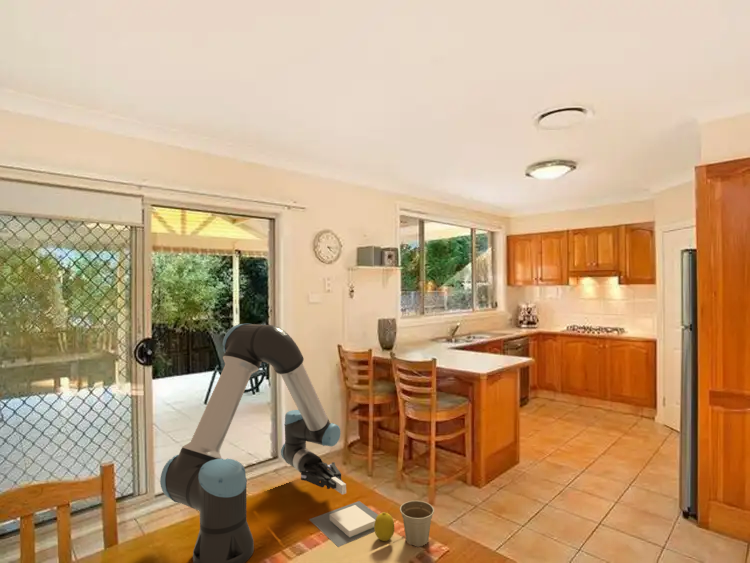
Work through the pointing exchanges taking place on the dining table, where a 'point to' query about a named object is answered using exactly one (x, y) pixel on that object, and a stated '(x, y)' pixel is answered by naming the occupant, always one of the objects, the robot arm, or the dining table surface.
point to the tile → (352, 521)
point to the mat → (334, 532)
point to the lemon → (384, 526)
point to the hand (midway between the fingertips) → (344, 489)
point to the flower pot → (417, 521)
